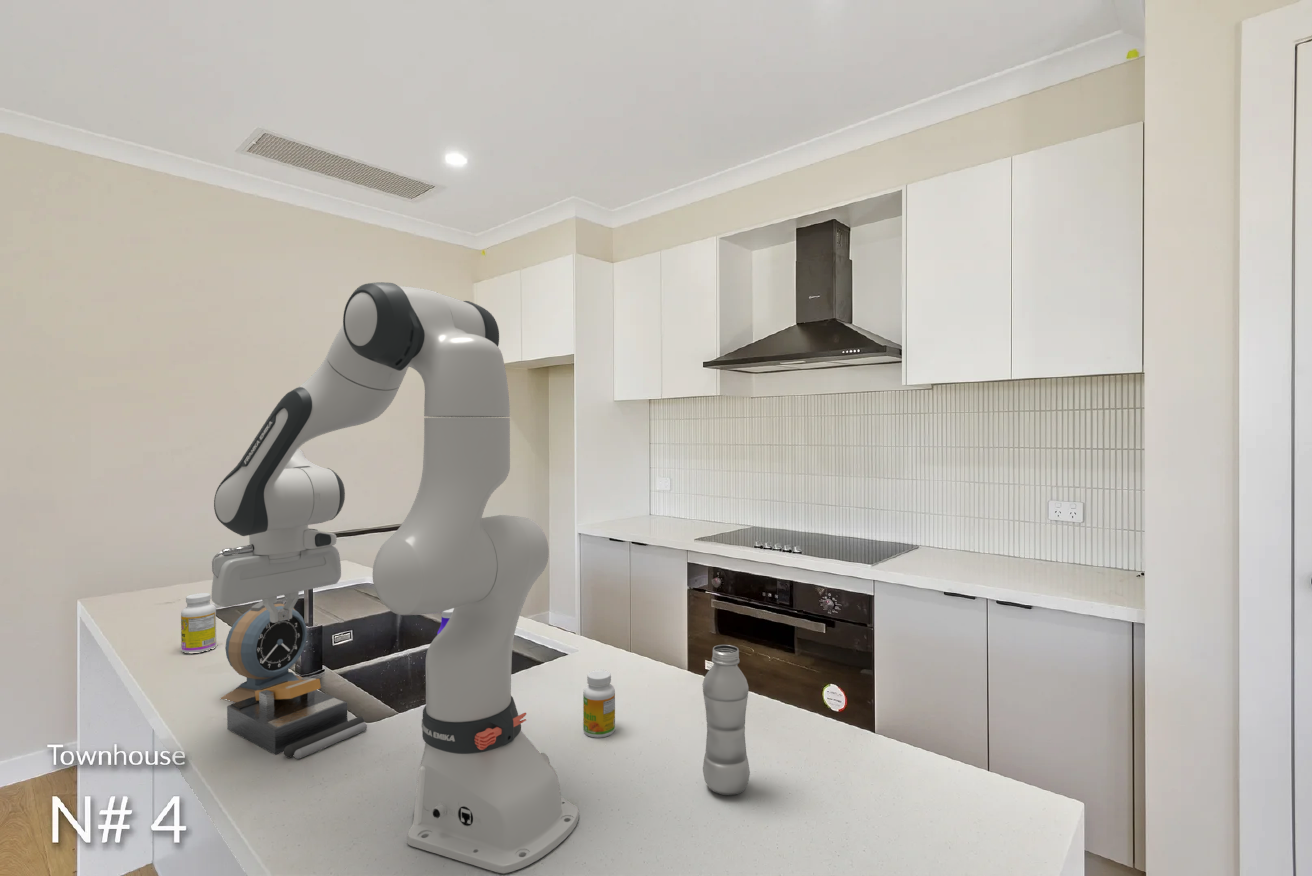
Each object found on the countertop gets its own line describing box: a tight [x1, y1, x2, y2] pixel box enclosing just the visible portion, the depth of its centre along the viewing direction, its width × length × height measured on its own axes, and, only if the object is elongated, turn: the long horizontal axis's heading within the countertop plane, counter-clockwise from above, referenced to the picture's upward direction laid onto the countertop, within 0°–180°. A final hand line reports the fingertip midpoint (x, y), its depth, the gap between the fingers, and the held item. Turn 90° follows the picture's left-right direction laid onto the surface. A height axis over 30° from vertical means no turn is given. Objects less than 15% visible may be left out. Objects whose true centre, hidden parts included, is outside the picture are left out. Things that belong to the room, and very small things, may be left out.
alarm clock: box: [220, 599, 308, 703], centre depth 126 cm, size 14×10×18 cm
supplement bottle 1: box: [180, 592, 217, 653], centre depth 148 cm, size 7×7×13 cm
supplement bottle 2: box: [582, 669, 616, 739], centre depth 108 cm, size 5×5×10 cm
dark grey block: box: [226, 676, 349, 756], centre depth 110 cm, size 16×12×7 cm
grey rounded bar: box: [283, 715, 368, 760], centre depth 104 cm, size 13×3×2 cm, turn 147°
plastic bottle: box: [702, 644, 751, 796], centre depth 91 cm, size 6×7×20 cm
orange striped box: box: [255, 677, 322, 701], centre depth 110 cm, size 12×5×2 cm, turn 57°
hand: (281, 620), depth 111 cm, fingers closed
